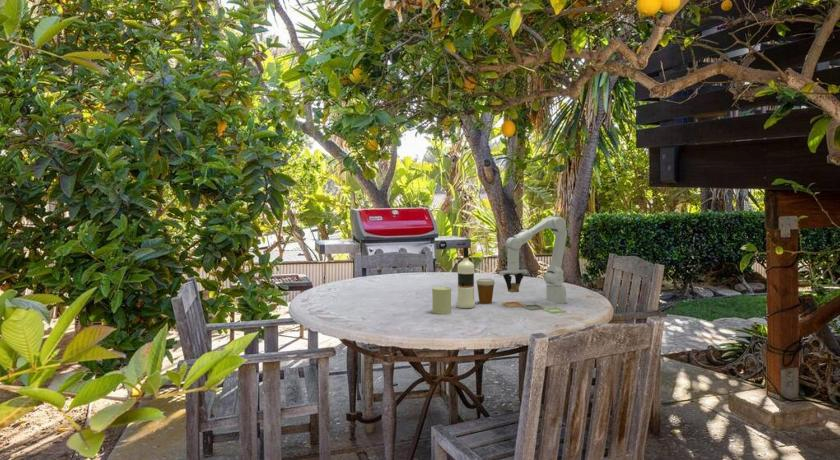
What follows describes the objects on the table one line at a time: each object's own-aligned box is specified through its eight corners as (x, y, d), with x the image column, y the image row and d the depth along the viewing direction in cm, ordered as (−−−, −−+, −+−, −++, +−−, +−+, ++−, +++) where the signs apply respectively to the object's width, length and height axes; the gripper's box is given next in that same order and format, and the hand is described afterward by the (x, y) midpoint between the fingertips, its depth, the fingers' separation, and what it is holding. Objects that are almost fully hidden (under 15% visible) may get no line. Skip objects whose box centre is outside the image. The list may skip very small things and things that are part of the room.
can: (453, 313, 275) (453, 288, 274) (434, 314, 274) (434, 289, 273) (449, 309, 284) (449, 285, 283) (430, 310, 283) (430, 285, 282)
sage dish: (557, 309, 282) (557, 307, 282) (566, 312, 274) (566, 310, 274) (542, 310, 279) (542, 308, 279) (551, 314, 272) (551, 311, 271)
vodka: (453, 307, 288) (452, 247, 286) (462, 304, 296) (462, 245, 293) (469, 309, 283) (469, 248, 280) (478, 306, 290) (478, 246, 288)
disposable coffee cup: (494, 305, 292) (494, 281, 292) (475, 304, 294) (475, 281, 293) (495, 301, 302) (495, 278, 301) (477, 301, 304) (477, 278, 303)
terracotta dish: (516, 303, 296) (516, 301, 296) (524, 306, 288) (524, 304, 288) (502, 304, 293) (502, 302, 293) (509, 308, 286) (509, 305, 286)
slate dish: (536, 306, 289) (536, 304, 289) (544, 309, 281) (544, 307, 281) (522, 307, 286) (522, 305, 286) (530, 311, 279) (530, 308, 279)
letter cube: (515, 290, 293) (515, 282, 292) (518, 292, 289) (518, 283, 288) (507, 291, 291) (507, 283, 291) (511, 292, 288) (511, 284, 287)
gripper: (522, 260, 295) (522, 286, 296) (496, 261, 291) (496, 288, 292) (529, 261, 288) (529, 288, 290) (502, 263, 284) (502, 290, 285)
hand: (513, 288), depth 290 cm, fingers closed on letter cube, 4 cm apart
